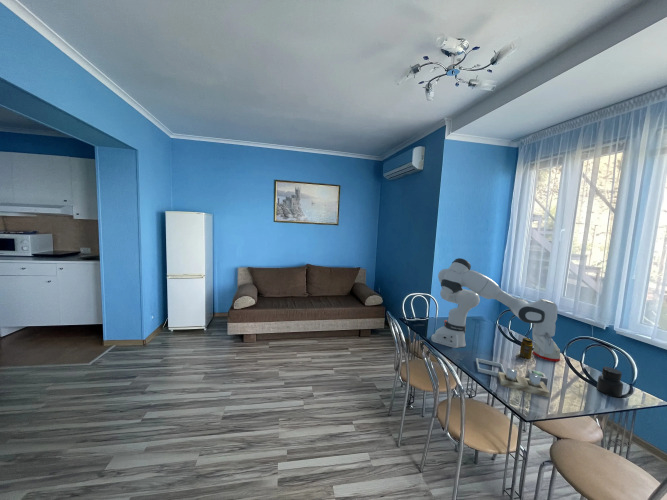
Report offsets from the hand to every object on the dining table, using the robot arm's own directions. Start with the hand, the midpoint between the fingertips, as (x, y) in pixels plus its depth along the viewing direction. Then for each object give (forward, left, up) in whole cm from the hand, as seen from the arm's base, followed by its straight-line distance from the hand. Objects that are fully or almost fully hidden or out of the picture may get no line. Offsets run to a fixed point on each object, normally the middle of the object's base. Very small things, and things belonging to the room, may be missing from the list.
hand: (540, 354), depth 143 cm
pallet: (-10, -12, -15) cm, 21 cm away
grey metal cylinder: (-5, -12, -14) cm, 19 cm away
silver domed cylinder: (-15, -12, -14) cm, 23 cm away
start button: (-1, -1, -13) cm, 13 cm away
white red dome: (+14, +39, -15) cm, 44 cm away
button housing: (-1, -1, -15) cm, 14 cm away
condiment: (0, +29, -15) cm, 33 cm away
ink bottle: (+31, +5, -15) cm, 35 cm away
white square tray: (-23, -1, -15) cm, 27 cm away
